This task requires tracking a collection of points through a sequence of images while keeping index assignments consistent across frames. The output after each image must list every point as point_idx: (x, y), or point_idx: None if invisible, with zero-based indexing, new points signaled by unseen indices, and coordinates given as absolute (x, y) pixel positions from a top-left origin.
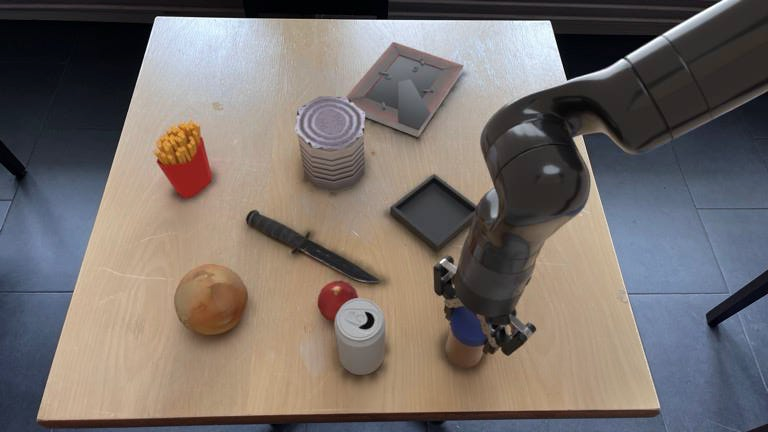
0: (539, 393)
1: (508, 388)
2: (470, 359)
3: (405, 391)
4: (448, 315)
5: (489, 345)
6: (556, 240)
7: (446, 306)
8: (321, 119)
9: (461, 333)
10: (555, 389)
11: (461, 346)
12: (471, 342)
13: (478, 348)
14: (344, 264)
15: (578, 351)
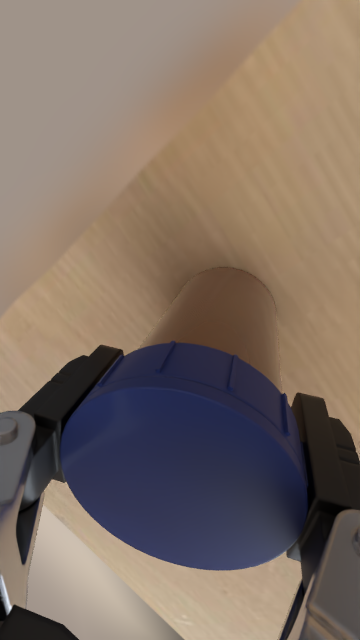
0: (39, 318)
1: (87, 291)
2: (174, 301)
3: (316, 76)
4: (315, 428)
5: (50, 401)
6: (192, 577)
7: (353, 477)
8: None
9: (182, 401)
10: (26, 342)
11: (194, 324)
12: (121, 375)
13: None
14: None
15: None
